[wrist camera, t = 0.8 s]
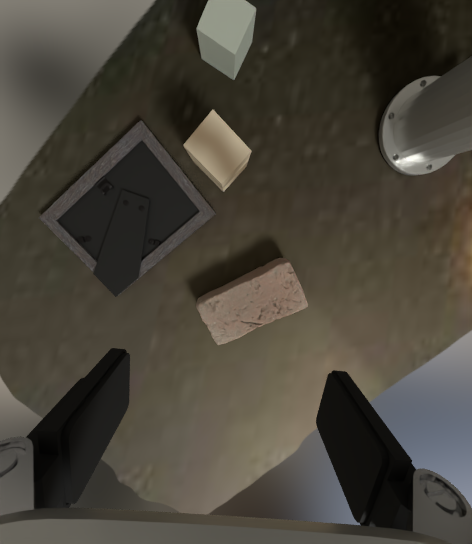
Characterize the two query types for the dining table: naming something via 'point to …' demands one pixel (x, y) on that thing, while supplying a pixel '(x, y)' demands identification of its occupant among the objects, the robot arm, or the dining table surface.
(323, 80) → the dining table surface
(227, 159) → the maple block
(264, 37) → the dining table surface
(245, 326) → the brick
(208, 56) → the sage block
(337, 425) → the robot arm
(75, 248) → the picture frame
